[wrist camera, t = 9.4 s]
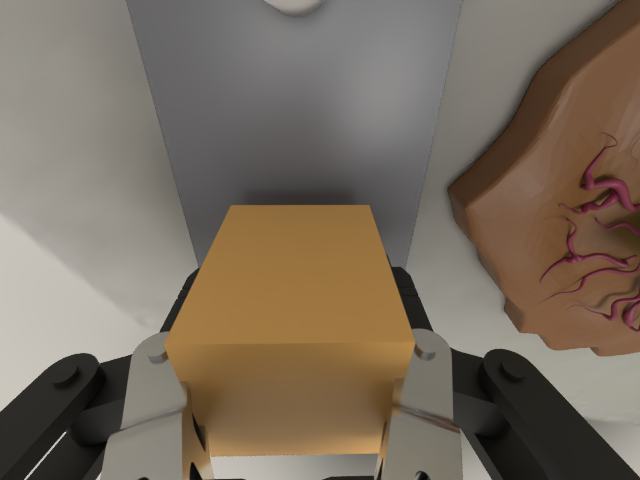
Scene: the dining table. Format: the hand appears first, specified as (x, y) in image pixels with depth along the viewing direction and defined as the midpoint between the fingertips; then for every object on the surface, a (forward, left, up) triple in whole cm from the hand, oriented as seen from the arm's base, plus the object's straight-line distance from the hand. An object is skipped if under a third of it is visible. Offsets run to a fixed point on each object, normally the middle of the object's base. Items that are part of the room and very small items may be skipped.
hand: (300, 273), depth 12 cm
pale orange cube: (0, 0, -1) cm, 1 cm away
